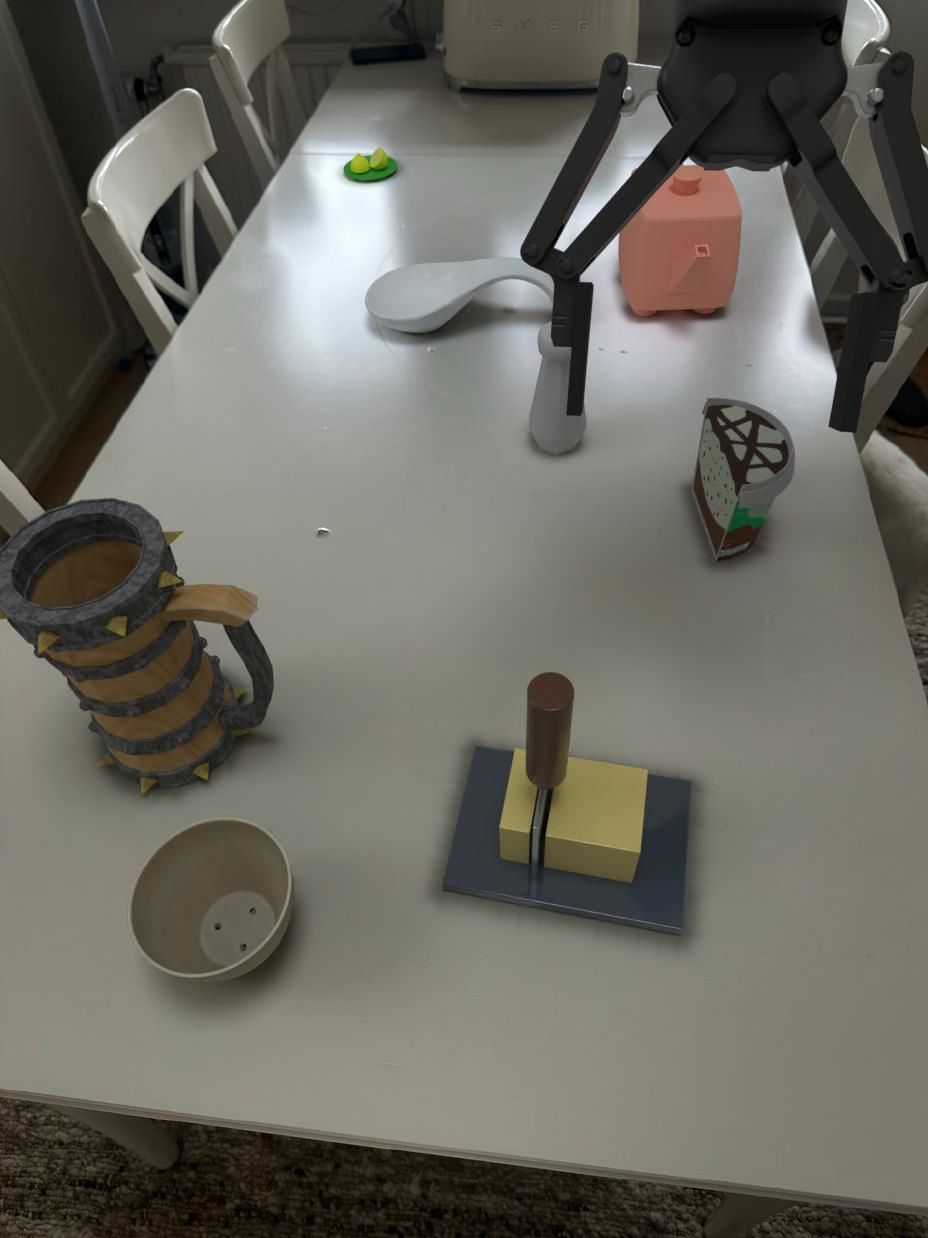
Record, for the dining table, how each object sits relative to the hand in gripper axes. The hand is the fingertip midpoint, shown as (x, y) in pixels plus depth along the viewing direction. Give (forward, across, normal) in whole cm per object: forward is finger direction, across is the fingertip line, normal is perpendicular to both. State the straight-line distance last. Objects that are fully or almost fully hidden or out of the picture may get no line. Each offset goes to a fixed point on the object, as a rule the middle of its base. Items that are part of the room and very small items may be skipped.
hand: (705, 422), depth 45 cm
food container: (+12, -7, -34) cm, 37 cm away
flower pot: (+35, +26, +2) cm, 44 cm away
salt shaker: (+6, +10, -42) cm, 44 cm away
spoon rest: (-5, +23, -59) cm, 64 cm away
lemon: (-26, +44, -90) cm, 104 cm away
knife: (+29, +7, -6) cm, 30 cm away
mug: (+27, +34, -10) cm, 45 cm away
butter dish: (+30, +5, -6) cm, 31 cm away
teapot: (-9, 0, -66) cm, 67 cm away
